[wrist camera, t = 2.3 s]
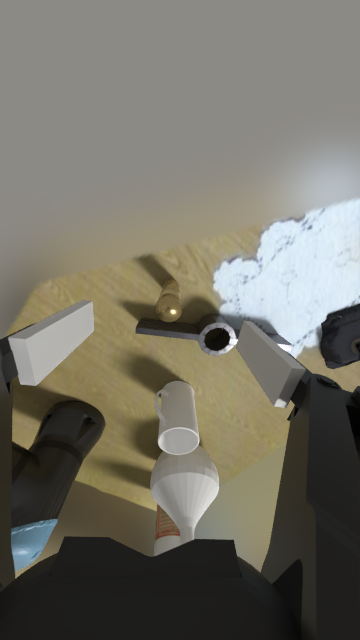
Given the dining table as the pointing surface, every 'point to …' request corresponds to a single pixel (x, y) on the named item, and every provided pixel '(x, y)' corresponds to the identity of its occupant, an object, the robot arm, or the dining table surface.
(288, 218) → the dining table surface
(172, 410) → the mug
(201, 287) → the dining table surface
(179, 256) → the dining table surface
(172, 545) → the fruit juice
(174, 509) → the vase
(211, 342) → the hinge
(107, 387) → the dining table surface
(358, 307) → the dark slate chunk
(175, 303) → the pin
